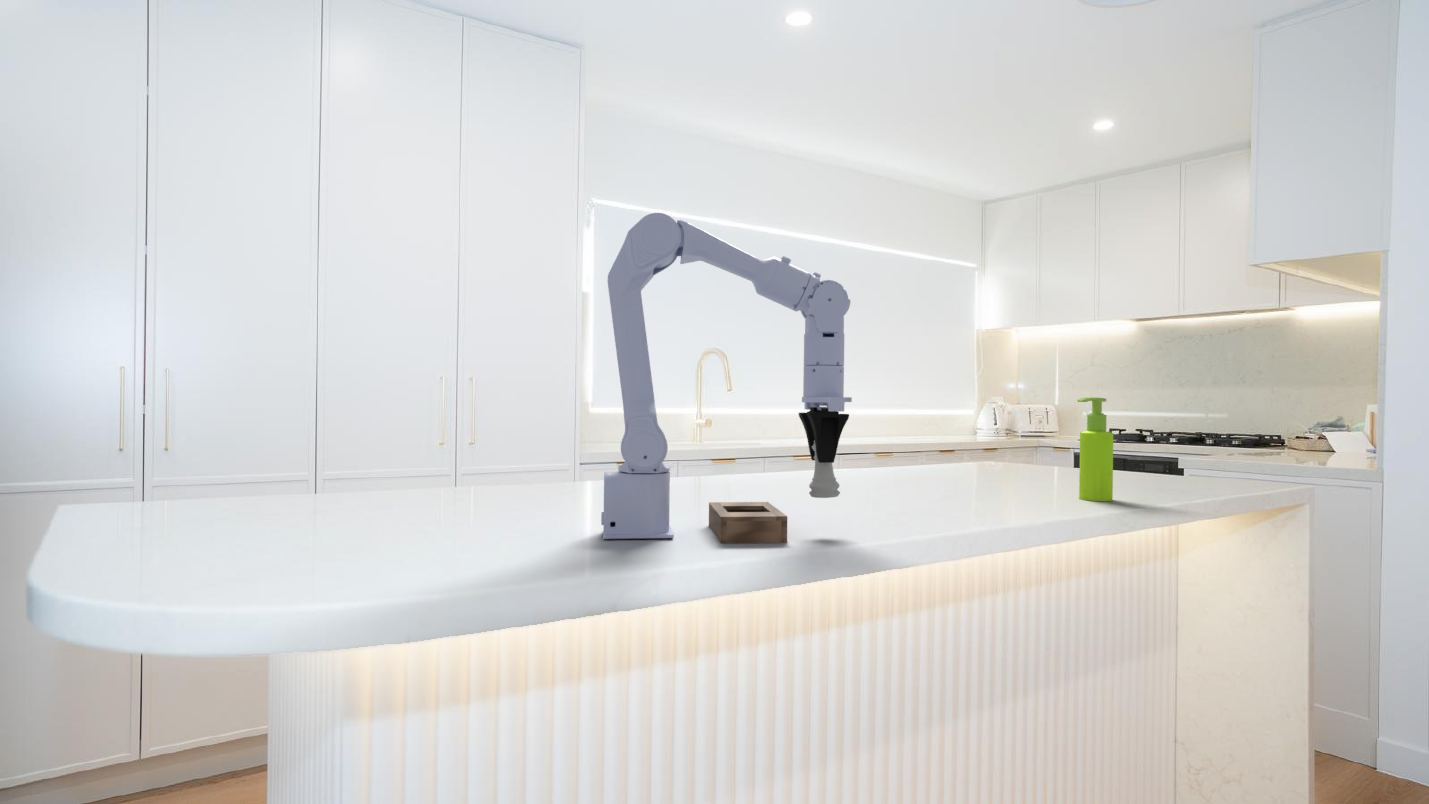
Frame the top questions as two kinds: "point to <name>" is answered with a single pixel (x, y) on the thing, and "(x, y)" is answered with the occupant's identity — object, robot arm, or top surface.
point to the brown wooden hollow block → (747, 522)
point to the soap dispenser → (1096, 456)
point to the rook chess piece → (823, 480)
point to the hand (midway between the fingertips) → (822, 461)
